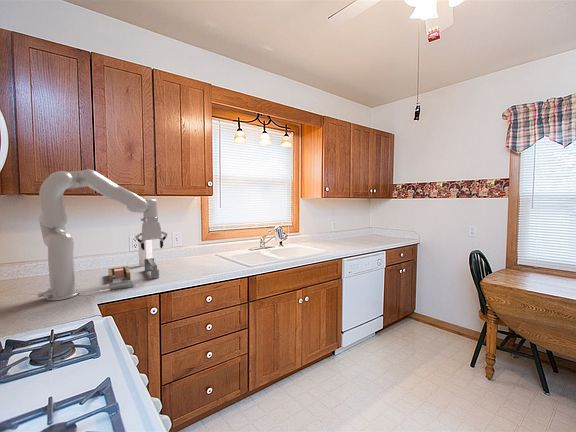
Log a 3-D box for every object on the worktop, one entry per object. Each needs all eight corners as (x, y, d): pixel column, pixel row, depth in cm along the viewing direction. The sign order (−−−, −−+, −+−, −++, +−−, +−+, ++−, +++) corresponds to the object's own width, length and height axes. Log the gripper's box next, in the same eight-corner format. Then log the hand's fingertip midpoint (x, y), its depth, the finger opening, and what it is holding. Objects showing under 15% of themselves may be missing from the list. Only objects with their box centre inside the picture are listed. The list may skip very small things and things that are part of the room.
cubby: (132, 287, 151) (132, 278, 150) (110, 291, 145) (109, 281, 145) (127, 274, 175) (127, 266, 175) (108, 277, 170) (108, 268, 169)
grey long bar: (160, 279, 165) (159, 265, 164) (150, 281, 162) (149, 266, 161) (154, 271, 183) (153, 258, 182) (144, 272, 180) (144, 259, 179)
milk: (152, 265, 198) (151, 233, 196) (146, 267, 192) (145, 235, 190) (145, 264, 199) (144, 233, 197) (139, 267, 193) (137, 234, 191)
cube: (123, 277, 166) (123, 269, 165) (114, 278, 163) (114, 271, 163) (123, 275, 169) (122, 268, 169) (114, 276, 167) (114, 269, 166)
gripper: (134, 221, 159) (136, 251, 161) (167, 219, 169) (169, 248, 170) (133, 220, 166) (135, 249, 167) (165, 218, 175) (166, 246, 177)
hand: (152, 248), depth 169 cm, fingers open, 9 cm apart
